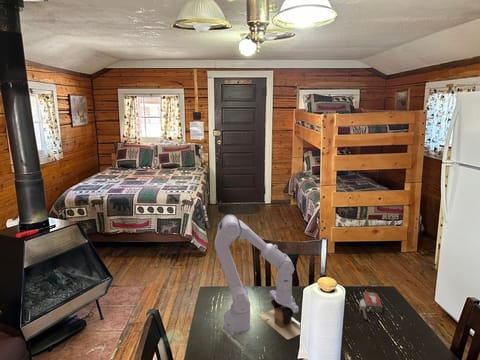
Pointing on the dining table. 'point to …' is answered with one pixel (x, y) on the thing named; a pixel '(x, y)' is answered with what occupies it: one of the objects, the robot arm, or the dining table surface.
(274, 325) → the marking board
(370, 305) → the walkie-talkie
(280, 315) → the brown knobbed block
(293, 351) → the dining table surface
